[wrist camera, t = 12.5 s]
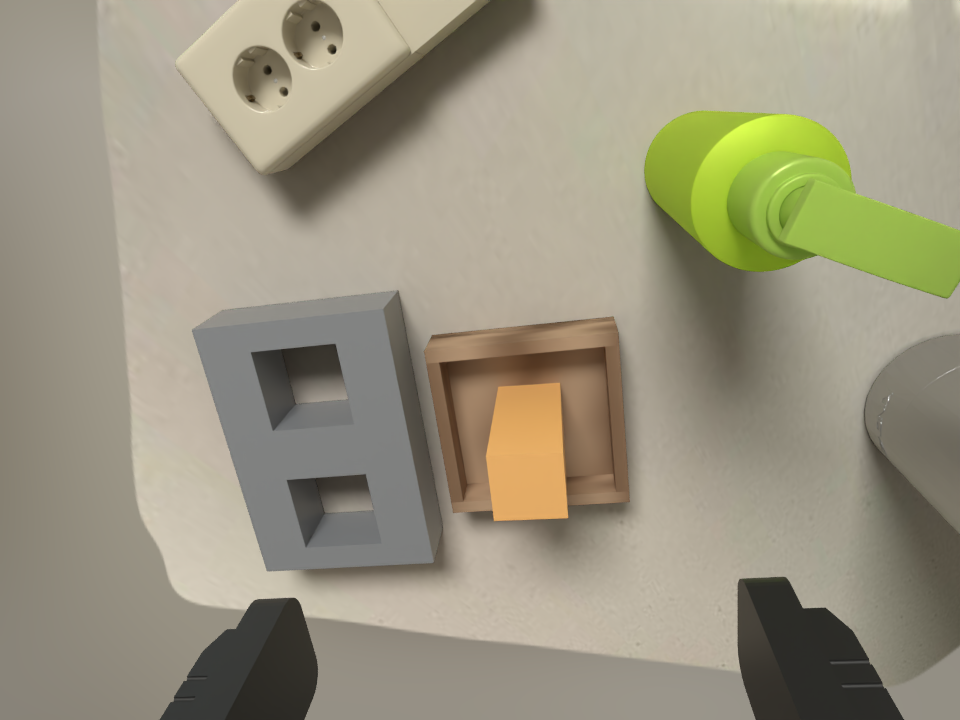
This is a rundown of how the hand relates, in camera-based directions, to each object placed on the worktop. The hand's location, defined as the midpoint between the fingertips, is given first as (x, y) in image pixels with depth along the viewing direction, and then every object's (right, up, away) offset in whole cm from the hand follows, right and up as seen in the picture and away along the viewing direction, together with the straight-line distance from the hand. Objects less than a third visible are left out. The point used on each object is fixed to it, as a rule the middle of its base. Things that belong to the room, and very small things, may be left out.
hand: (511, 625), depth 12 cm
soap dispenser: (+12, +16, +25) cm, 32 cm away
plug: (+3, +1, +31) cm, 31 cm away
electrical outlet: (-7, +24, +25) cm, 35 cm away
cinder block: (-10, 0, +33) cm, 35 cm away
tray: (+3, +2, +32) cm, 32 cm away
